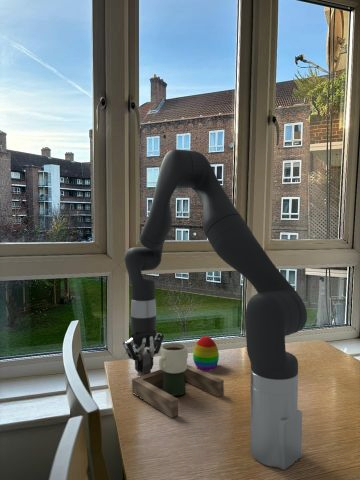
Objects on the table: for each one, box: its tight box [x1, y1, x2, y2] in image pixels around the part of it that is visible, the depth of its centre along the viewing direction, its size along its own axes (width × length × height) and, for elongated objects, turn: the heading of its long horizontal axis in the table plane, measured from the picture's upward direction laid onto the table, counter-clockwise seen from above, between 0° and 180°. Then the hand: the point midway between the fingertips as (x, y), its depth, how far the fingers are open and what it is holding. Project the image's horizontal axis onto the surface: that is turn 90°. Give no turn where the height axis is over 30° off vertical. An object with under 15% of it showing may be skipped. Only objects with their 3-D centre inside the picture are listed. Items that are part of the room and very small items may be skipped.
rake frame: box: [131, 350, 225, 419], centre depth 107 cm, size 26×18×7 cm
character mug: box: [158, 341, 189, 397], centre depth 105 cm, size 11×7×13 cm, turn 138°
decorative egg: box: [192, 335, 220, 372], centre depth 122 cm, size 8×8×10 cm
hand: (144, 369), depth 116 cm, fingers open, 3 cm apart
